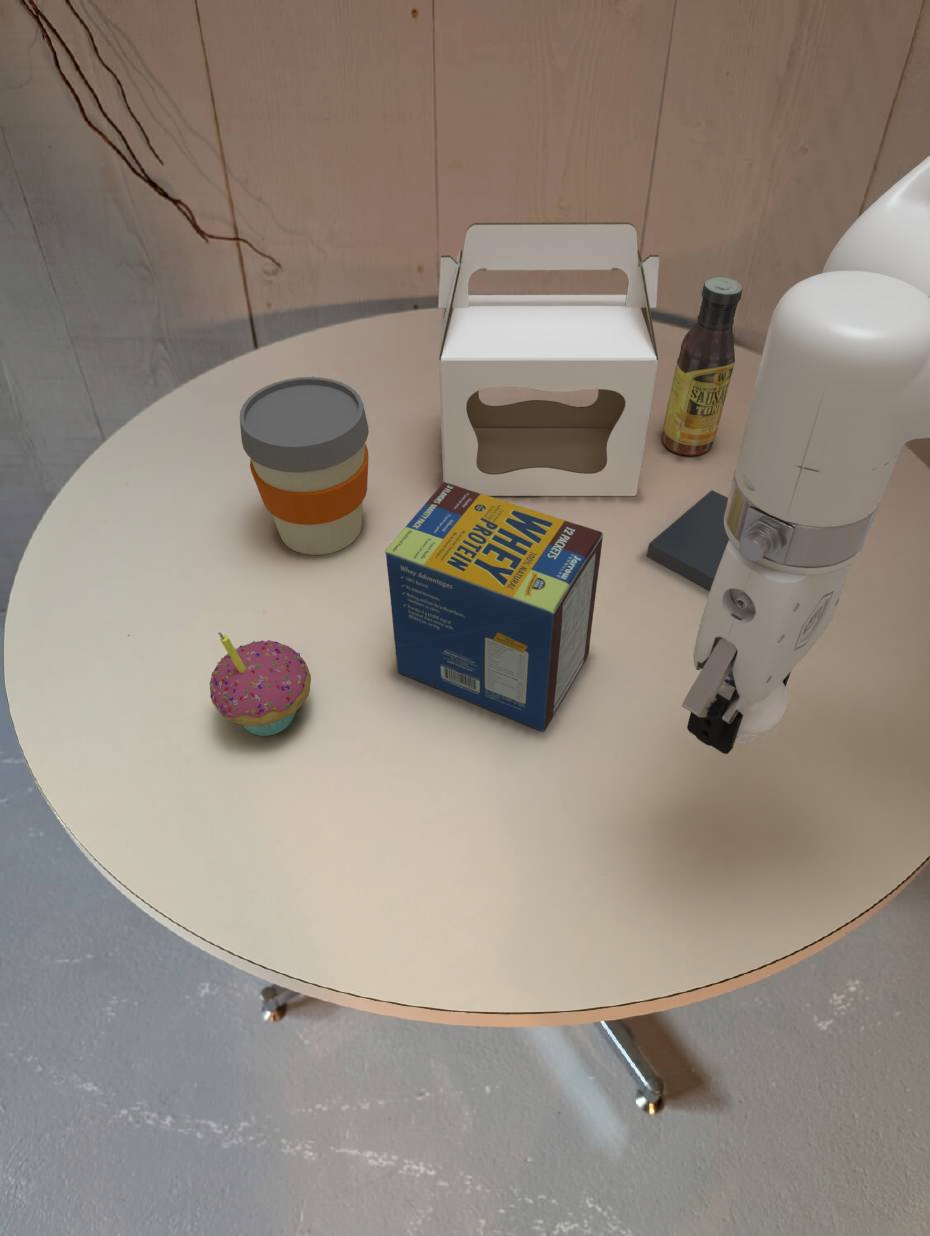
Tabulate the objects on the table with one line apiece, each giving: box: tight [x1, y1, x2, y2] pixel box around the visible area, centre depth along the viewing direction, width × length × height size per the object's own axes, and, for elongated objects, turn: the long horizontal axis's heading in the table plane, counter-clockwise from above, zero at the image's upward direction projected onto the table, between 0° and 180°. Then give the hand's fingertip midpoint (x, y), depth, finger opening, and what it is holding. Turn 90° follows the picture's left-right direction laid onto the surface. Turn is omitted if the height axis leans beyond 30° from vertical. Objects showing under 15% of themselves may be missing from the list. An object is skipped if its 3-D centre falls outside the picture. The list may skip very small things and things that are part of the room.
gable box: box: [437, 221, 660, 497], centre depth 97 cm, size 22×13×28 cm, turn 89°
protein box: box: [384, 482, 604, 732], centre depth 80 cm, size 10×15×16 cm
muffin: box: [718, 682, 789, 745], centre depth 61 cm, size 6×6×7 cm
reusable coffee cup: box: [239, 376, 370, 556], centre depth 94 cm, size 12×13×15 cm
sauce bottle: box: [661, 276, 743, 457], centre depth 102 cm, size 7×6×20 cm
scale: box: [646, 489, 729, 592], centre depth 94 cm, size 15×12×4 cm
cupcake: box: [208, 631, 312, 737], centre depth 77 cm, size 9×8×12 cm
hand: (736, 707), depth 62 cm, fingers closed on muffin, 6 cm apart
